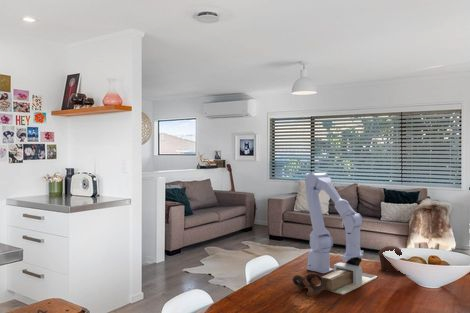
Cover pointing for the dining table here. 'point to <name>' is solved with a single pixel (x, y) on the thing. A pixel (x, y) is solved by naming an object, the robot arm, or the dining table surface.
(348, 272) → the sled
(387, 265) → the muffin
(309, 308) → the dining table surface
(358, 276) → the tunnel
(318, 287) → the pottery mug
